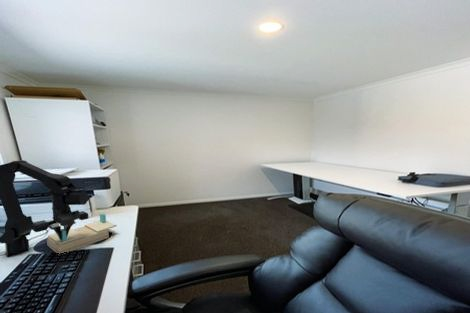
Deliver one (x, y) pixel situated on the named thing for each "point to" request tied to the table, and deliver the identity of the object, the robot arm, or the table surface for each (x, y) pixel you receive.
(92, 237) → the carton
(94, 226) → the flap far
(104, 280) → the table surface
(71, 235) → the flap near
